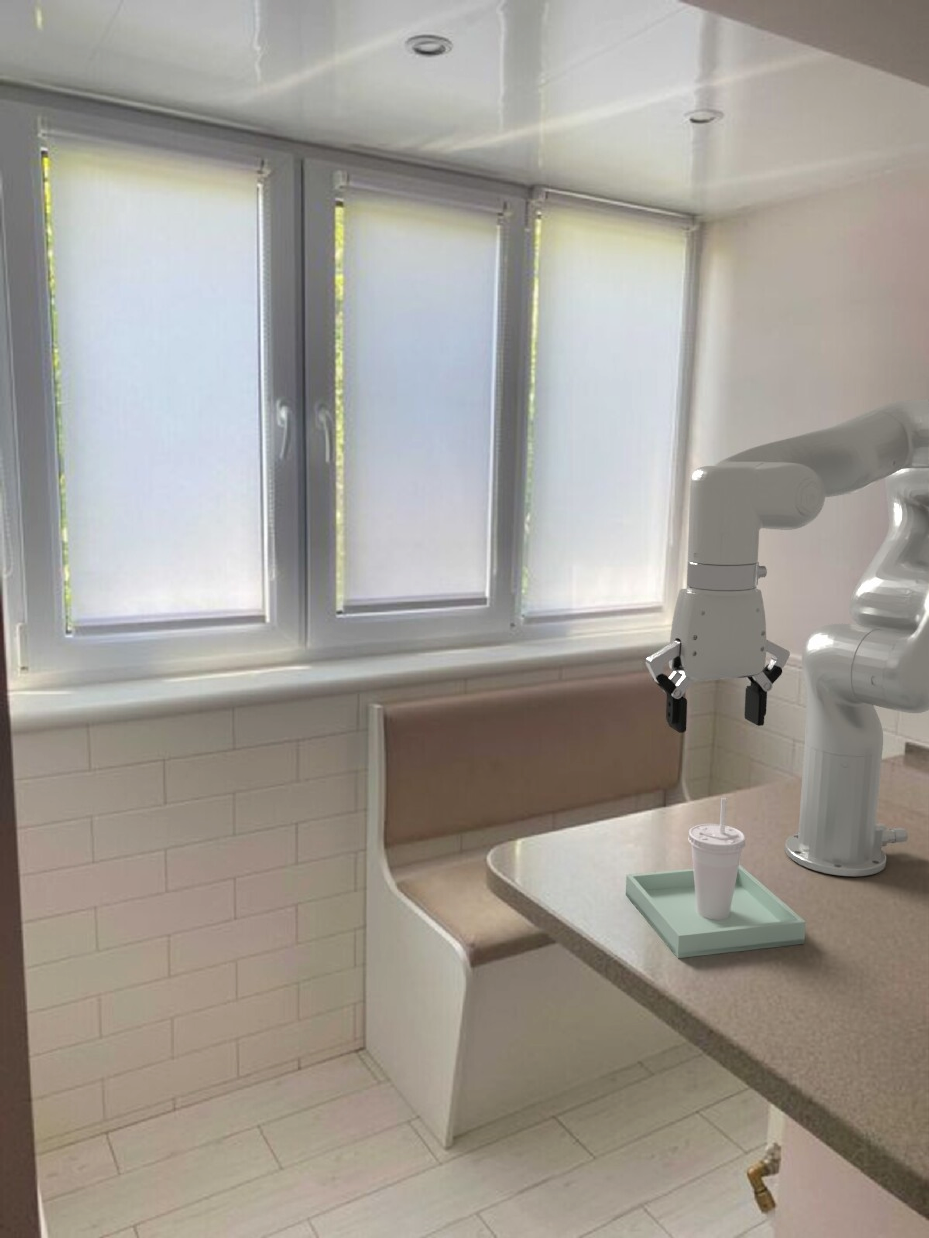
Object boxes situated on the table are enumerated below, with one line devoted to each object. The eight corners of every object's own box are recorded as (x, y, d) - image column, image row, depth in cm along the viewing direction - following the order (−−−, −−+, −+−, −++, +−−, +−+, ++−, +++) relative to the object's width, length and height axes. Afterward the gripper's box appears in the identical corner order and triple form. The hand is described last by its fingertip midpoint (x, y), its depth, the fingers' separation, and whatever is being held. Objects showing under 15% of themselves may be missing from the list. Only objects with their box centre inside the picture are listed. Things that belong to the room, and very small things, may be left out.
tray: (737, 883, 118) (739, 863, 117) (804, 943, 103) (805, 921, 103) (625, 894, 114) (626, 874, 114) (677, 958, 100) (678, 935, 100)
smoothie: (744, 928, 105) (750, 810, 103) (685, 922, 106) (691, 806, 104) (738, 901, 111) (745, 790, 109) (683, 896, 113) (688, 786, 110)
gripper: (773, 570, 109) (766, 711, 112) (635, 576, 105) (632, 722, 108) (810, 579, 102) (802, 729, 105) (664, 586, 98) (660, 742, 101)
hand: (715, 725), depth 107 cm, fingers open, 9 cm apart
